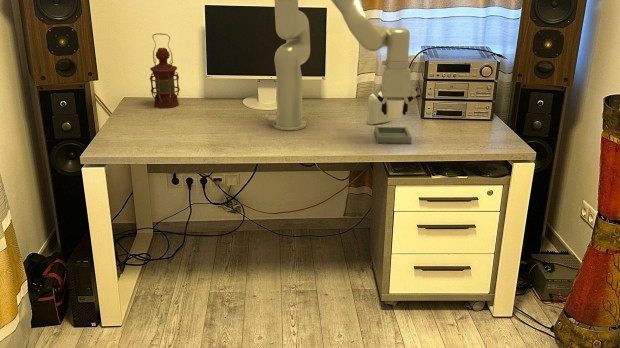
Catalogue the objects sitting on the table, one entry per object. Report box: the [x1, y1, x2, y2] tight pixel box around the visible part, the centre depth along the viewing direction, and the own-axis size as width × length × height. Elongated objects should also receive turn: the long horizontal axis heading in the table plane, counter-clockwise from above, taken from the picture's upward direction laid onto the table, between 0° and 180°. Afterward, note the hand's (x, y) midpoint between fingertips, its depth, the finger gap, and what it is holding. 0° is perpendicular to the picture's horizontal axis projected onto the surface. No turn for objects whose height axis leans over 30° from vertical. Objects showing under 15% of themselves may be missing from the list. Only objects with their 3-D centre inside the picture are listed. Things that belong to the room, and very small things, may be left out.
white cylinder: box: [386, 97, 405, 120], centre depth 228 cm, size 7×7×7 cm
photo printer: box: [366, 91, 392, 126], centre depth 248 cm, size 10×4×12 cm, turn 123°
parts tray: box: [374, 126, 413, 145], centre depth 232 cm, size 12×12×2 cm
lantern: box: [149, 32, 181, 109], centre depth 264 cm, size 12×12×30 cm
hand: (394, 113), depth 228 cm, fingers closed on white cylinder, 6 cm apart
